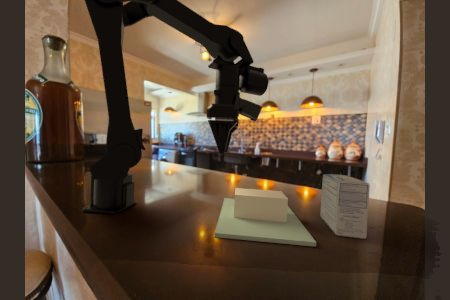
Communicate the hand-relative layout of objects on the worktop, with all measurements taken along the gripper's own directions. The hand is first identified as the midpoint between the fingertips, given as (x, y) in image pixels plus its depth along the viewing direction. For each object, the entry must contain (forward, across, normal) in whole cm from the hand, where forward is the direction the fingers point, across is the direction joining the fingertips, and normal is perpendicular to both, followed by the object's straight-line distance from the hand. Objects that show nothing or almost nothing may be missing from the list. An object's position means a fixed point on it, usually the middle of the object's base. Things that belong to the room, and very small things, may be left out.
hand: (223, 153), depth 45 cm
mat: (+11, -11, -8) cm, 17 cm away
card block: (+10, -11, -8) cm, 17 cm away
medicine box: (+11, -12, -22) cm, 27 cm away
